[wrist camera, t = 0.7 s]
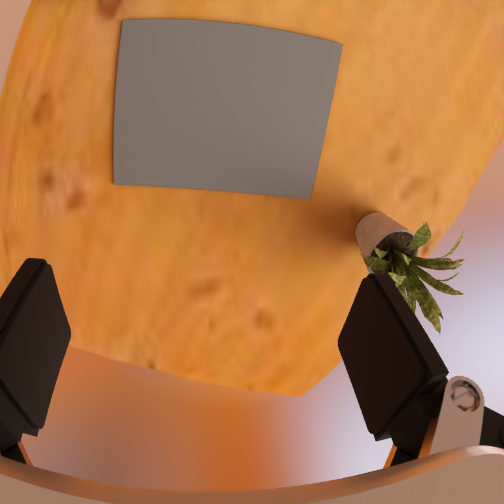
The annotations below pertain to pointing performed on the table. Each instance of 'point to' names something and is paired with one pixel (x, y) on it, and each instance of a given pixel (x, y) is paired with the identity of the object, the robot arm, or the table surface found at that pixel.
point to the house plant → (404, 260)
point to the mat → (221, 106)
